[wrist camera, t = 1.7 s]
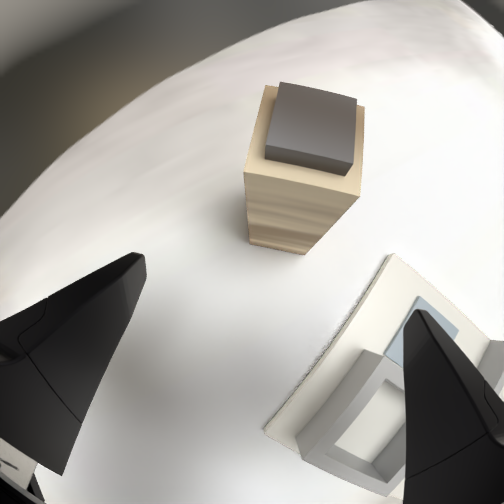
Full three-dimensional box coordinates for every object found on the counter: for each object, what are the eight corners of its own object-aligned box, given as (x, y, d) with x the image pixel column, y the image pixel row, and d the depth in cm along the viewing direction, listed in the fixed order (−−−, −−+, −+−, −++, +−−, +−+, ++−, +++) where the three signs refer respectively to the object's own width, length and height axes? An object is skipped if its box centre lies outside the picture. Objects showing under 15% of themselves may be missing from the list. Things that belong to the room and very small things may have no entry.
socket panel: (434, 506, 17) (454, 526, 12) (263, 428, 19) (265, 455, 15) (520, 377, 19) (548, 383, 14) (388, 254, 21) (416, 243, 17)
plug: (304, 255, 21) (370, 185, 9) (249, 244, 22) (242, 157, 9) (313, 203, 22) (372, 92, 9) (260, 192, 22) (266, 68, 9)
